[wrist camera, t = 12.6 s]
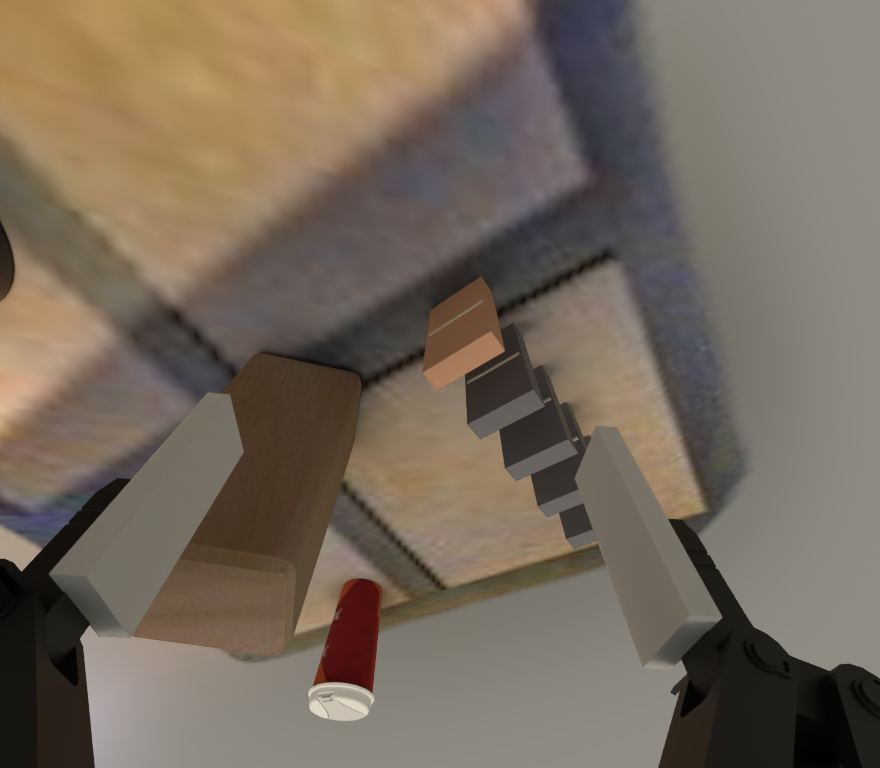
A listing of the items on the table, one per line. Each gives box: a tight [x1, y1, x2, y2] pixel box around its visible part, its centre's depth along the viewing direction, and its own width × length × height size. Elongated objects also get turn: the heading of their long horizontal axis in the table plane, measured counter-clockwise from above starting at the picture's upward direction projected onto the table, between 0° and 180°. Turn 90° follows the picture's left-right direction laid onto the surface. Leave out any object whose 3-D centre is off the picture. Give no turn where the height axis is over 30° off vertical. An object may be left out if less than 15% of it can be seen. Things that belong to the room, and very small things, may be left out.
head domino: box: [422, 276, 505, 390], centre depth 28 cm, size 2×5×10 cm, turn 126°
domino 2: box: [499, 366, 578, 481], centre depth 33 cm, size 2×5×10 cm, turn 126°
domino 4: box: [559, 436, 597, 549], centre depth 37 cm, size 2×5×10 cm, turn 126°
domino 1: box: [465, 324, 545, 439], centre depth 30 cm, size 2×5×10 cm, turn 126°
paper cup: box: [308, 579, 382, 721], centre depth 51 cm, size 8×8×14 cm
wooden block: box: [132, 353, 362, 655], centre depth 30 cm, size 10×10×20 cm
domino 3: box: [531, 403, 587, 517], centre depth 35 cm, size 2×5×10 cm, turn 126°
